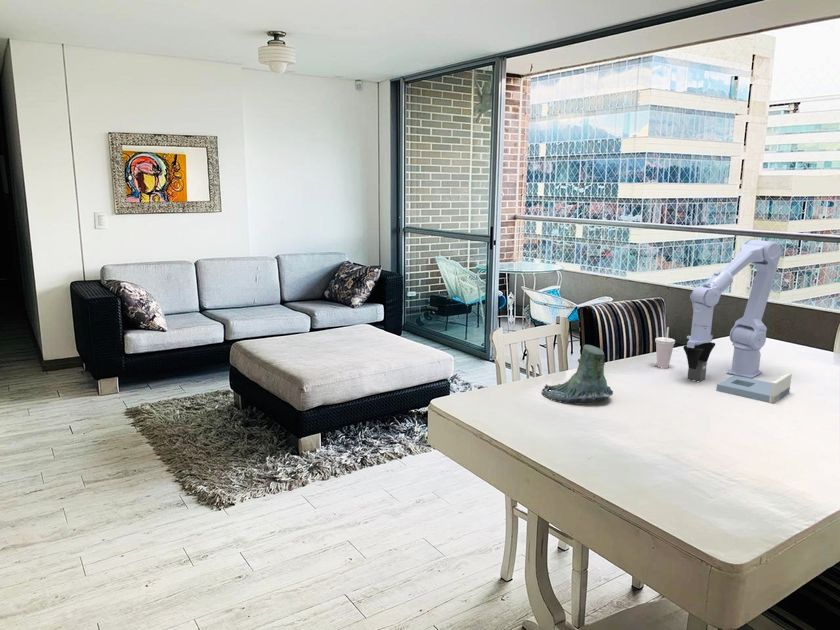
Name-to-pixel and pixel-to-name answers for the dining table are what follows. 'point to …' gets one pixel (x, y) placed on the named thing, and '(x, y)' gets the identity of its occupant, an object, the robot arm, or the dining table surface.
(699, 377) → the plug
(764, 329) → the robot arm
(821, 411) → the dining table surface
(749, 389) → the outlet plate
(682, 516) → the dining table surface
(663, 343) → the smoothie
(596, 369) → the tree stump
